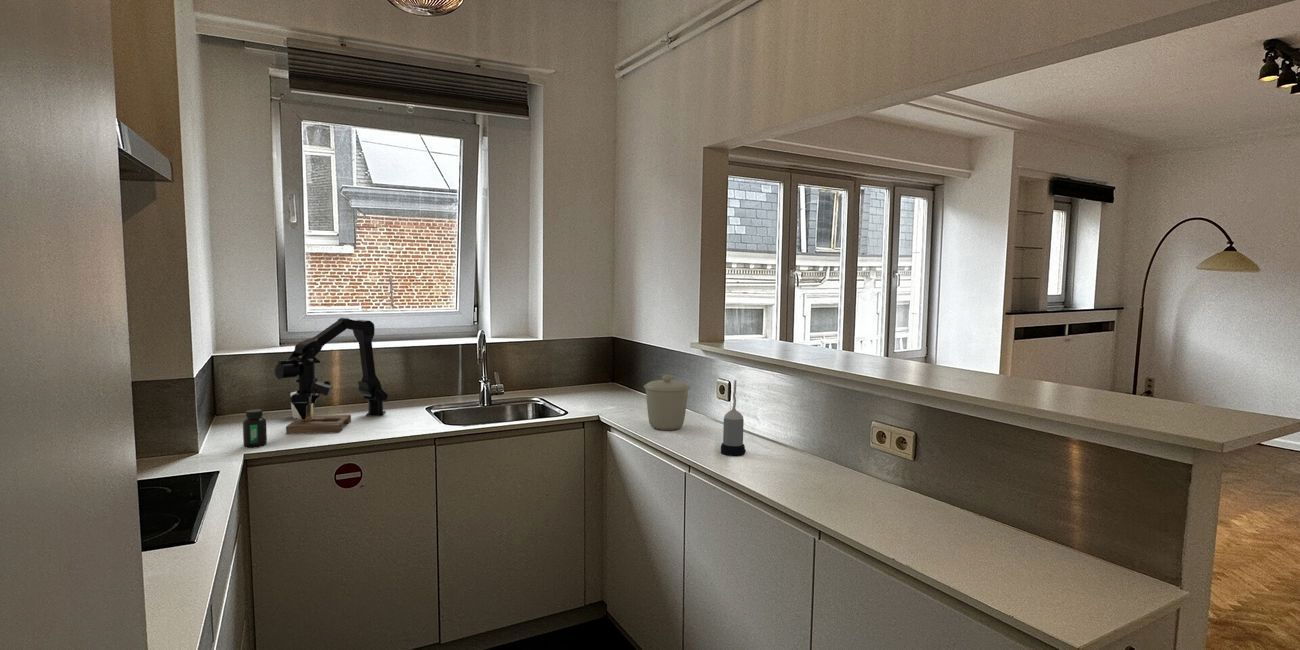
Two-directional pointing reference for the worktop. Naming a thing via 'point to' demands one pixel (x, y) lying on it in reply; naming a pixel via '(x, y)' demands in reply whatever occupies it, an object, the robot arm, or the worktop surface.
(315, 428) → the keyhole plate
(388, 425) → the worktop surface
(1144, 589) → the worktop surface
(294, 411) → the white cup
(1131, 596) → the worktop surface
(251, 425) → the supplement bottle
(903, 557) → the worktop surface
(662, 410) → the canister
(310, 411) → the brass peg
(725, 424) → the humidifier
